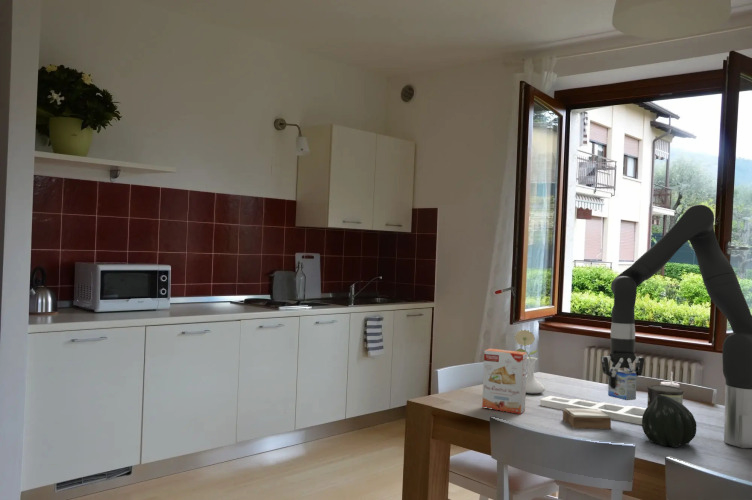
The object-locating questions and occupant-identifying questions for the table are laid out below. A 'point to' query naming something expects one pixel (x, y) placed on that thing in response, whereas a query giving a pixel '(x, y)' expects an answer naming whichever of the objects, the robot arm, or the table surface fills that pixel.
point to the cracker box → (504, 380)
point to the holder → (609, 409)
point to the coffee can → (664, 392)
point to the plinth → (586, 418)
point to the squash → (668, 422)
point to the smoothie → (670, 382)
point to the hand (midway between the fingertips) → (622, 388)
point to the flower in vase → (529, 361)
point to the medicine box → (624, 386)
